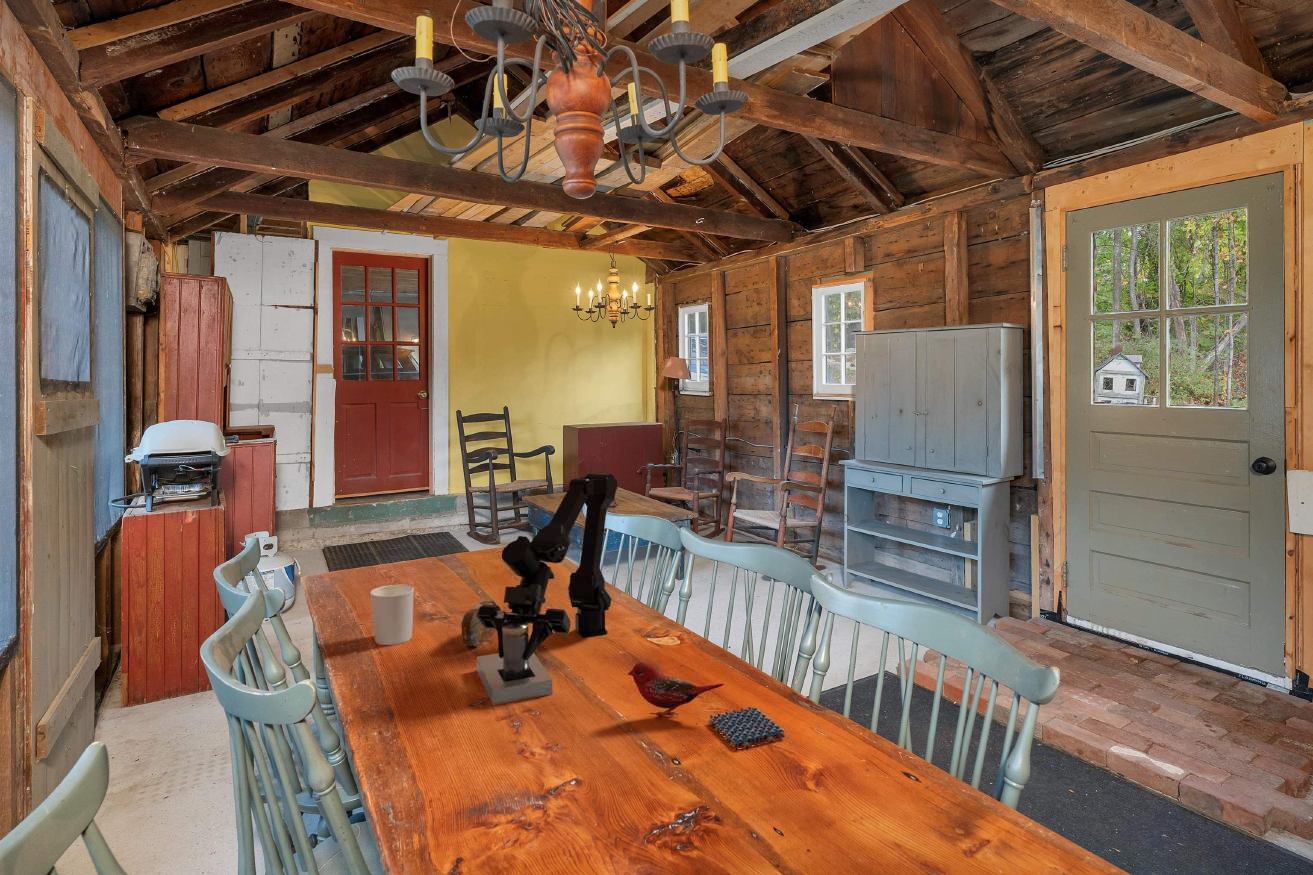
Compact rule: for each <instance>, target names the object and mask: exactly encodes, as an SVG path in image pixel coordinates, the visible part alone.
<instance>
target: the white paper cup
mask: <svg viewBox="0 0 1313 875" xmlns="http://www.w3.org/2000/svg"><path fill="white" fill-rule="evenodd" d="M414 591H415V588H414V587H413V586H412V585H409V584H389V585H384V586H383V585H382V586H379V587H376V588H374V589H371V591H370V592H369V594H370V604H371V615H372V624H373V635H374V642H375V643H376V644H378V645H381V646H395V645H400V644H403V642H404V643H406V642H409V641H410V640H411V639H412V637H413V621H414V620H413V619H414V593H415V592H414Z"/></svg>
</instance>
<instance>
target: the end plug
mask: <svg viewBox="0 0 1313 875" xmlns="http://www.w3.org/2000/svg"><path fill="white" fill-rule="evenodd" d="M502 634H503V682H508V681H513V680H519V679H525V678H529V659H528V660H525V658H524V657H525V652H526V648H527V645H528V642H529V623H528V622H526V621H522V620H514V621H509V622H506V623H504V624H503V625H502Z"/></svg>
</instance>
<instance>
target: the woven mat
mask: <svg viewBox="0 0 1313 875" xmlns="http://www.w3.org/2000/svg"><path fill="white" fill-rule="evenodd" d="M724 713H725V714H721V713H717V716H716V715H714V716H713V715H711V714H710V715H709V718H710V719H708V720H709V722H708V723H707V724H708V725H709V726H710V725H711V726H712V725H713V727H715V729H714V728H713V729H714V730H713V731H715V732H716V731H719V730H720V731H719V733H723V734H722V735H721V736H722V737H723V736H725V737H724V738H723V740H725V741H726V740H727V741H728V740H729V741H728V742H730V741H731V743H730V744H729V746H730V747H732V746H734V745H735V748H744V747H745V748H744V749H748V748H751V747H750V746H752V745H756V746H759V744H760V745H763V743H764V744H768V743H773V742H777V741H781V740H784V738H785V739H786V738H787V736H786V735H785V733H786V732H785V731H784V728H781V727H780V726H779V725H778V724H777V722H774V721H773V720H772V719H770V717H767V715H766V714H765V713H763V712H762V711H760V710H759V709H758V708H757V707H755V708H754V707H751V706H748V707H747V709H746V708H745V709H744V708H740V711H739V710H737V711H736V709H734V710H732V712H728V711H725V712H724ZM764 739H765V740H764ZM739 745H740V746H739ZM752 747H753V746H752Z"/></svg>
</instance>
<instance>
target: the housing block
mask: <svg viewBox="0 0 1313 875" xmlns="http://www.w3.org/2000/svg"><path fill="white" fill-rule="evenodd" d="M476 672H477V674H478V676H479V679H480V681H481V683H482V686H483V688H484V690H485V692H486V694H487V697H488V698H489V700H490V703H491V706H496V705H497V706H498V705H501V704H503V705H504V704H508V703H514V702H518V701H525V700H529V699H533V698H539V697H540V698H541V697H545V696H549V695H551V696H552V695H553V694H554V692H553V678H552V677H551V675H550V673H549V672H548V671H547V670H546V668H545V666H544V665H543V664H542V663H541V661H540V659H539V658H538V656H537V655H536V653H535V652H534V653H533V654H532V655H531V657H530V658H529V678H525V679H519V680H513V681H508V682H503V658H500V657H499V652H498V653H493V654H487V655H486V654H485V655H480V656H479V655H478V656H476Z"/></svg>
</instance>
